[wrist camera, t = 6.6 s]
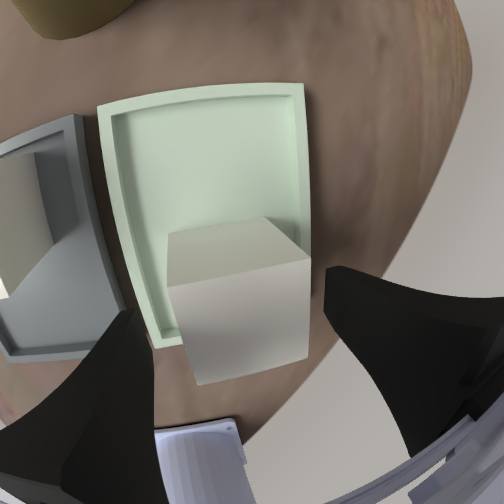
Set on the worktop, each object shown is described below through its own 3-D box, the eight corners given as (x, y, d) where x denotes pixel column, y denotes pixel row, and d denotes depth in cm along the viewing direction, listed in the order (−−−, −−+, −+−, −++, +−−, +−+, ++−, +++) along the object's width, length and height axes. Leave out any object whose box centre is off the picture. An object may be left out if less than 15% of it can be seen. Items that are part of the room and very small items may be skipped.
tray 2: (300, 302, 15) (309, 314, 14) (155, 333, 13) (155, 348, 12) (291, 87, 11) (303, 83, 10) (104, 109, 9) (97, 106, 8)
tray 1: (137, 336, 13) (136, 351, 12) (15, 350, 11) (9, 362, 10) (82, 116, 9) (73, 113, 8) (-49, 176, 7) (-62, 181, 6)
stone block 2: (270, 297, 14) (307, 357, 10) (186, 315, 13) (197, 385, 9) (264, 217, 12) (311, 257, 8) (167, 234, 11) (166, 287, 7)
